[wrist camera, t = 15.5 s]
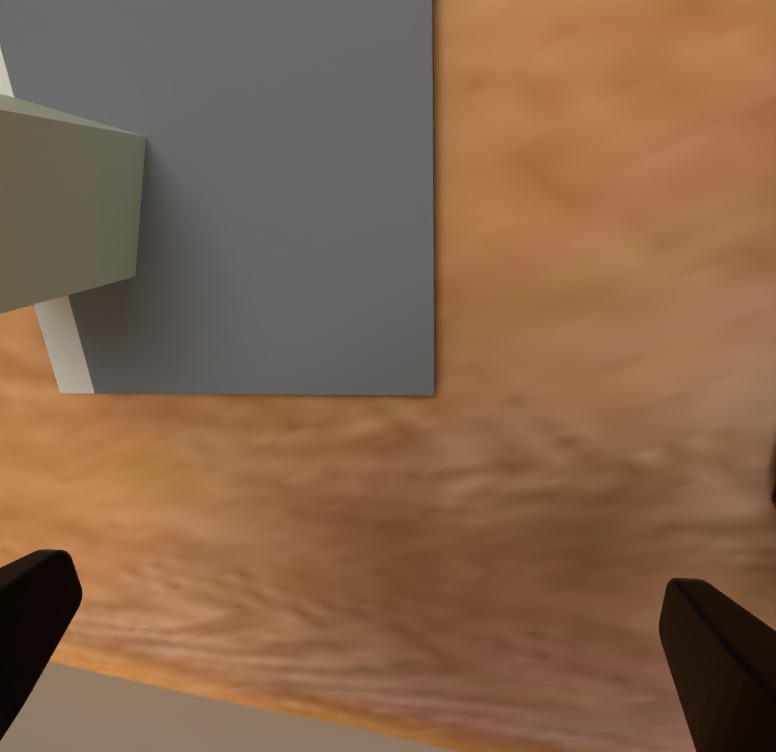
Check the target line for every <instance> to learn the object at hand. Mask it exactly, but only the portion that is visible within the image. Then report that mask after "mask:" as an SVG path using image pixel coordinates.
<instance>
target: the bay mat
mask: <svg viewBox="0 0 776 752" xmlns="http://www.w3.org/2000/svg"><path fill="white" fill-rule="evenodd" d="M0 94H4V95H8V96H12V97H15V98H18V99H22V100H25V101H28V102H32V103H35V104H38V105H42V106H45V107H48V108H52V109H55V110H58V111H62V112H65V113H68V114H72V115H75V116H78V117H82V118H85V119H88V120H92V121H95V122H99V123H102V124H105V125H109V126H112V127H115V128H119V129H122V130H125V131H129V132H132V133H135V134H139V135H142V136H145V137H146V144H145V157H144V170H143V183H142V196H141V209H140V222H139V235H138V248H137V262H136V275H135V277H132V278H129V279H125V280H121V281H118V282H114V283H110V284H107V285H103V286H99V287H96V288H92V289H88V290H85V291H81V292H77V293H74V294H70V295H66V296H63V297H59V298H55V299H52V300H48V301H44V302H41V303H37V304H34V307H35V311H36V314H37V317H38V321H39V324H40V327H41V331H42V334H43V337H44V341H45V344H46V347H47V351H48V354H49V357H50V361H51V364H52V367H53V371H54V374H55V377H56V381H57V384H58V388H59V391H60V393H115V394H270V395H424V396H434V392H435V332H434V141H433V0H0Z"/></svg>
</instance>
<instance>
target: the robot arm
mask: <svg viewBox="0 0 776 752" xmlns="http://www.w3.org/2000/svg"><path fill="white" fill-rule="evenodd" d="M773 502H774V504H775V505H776V489H775V492H774V496H773ZM81 600H82V587H81V584H80V581H79V578H78V575H77V572H76V569H75V566H74V563H73V560H72V558H71V555H70V554H69V553H68V552H67V551H64V550H50V549H43V550H37V551H35V552H33V553H31V554H28V555H26V556H24V557H22V558H20V559H18V560H16V561H14V562H12V563H9V564H7V565H5V566H3V567H1V568H0V741H1V739H2V738H3V736H4V735H5V733H6V732H7V730H8V728H9V727H10V725H11V724H12V722H13V721H14V719H15V718H16V716H17V715H18V713H19V712H20V710H21V708H22V707H23V705H24V703H25V702H26V700H27V698H28V697H29V695H30V693H31V691H32V690H33V688H34V686H35V684H36V683H37V681H38V679H39V677H40V675H41V674H42V672H43V670H44V668H45V667H46V665H47V663H48V661H49V660H50V658H51V656H52V654H53V652H54V651H55V649H56V647H57V645H58V644H59V642H60V640H61V638H62V636H63V635H64V633H65V631H66V629H67V628H68V626H69V624H70V622H71V620H72V619H73V617H74V615H75V613H76V612H77V610H78V608H79V606H80V603H81ZM659 634H660V639H661V643H662V646H663V649H664V652H665V655H666V658H667V662H668V665H669V668H670V671H671V674H672V677H673V680H674V684H675V687H676V690H677V693H678V696H679V699H680V702H681V705H682V709H683V712H684V715H685V718H686V721H687V724H688V727H689V731H690V734H691V737H692V740H693V743H694V746H695V749H696V752H776V631H775V630H773V629H772V628H771V627H769V626H768V625H766V624H765V623H764V622H762V621H761V620H759V619H758V618H757V617H755V616H754V615H752V614H751V613H750V612H748V611H747V610H745V609H744V608H743V607H741V606H740V605H738V604H737V603H736V602H734V601H733V600H732V599H730V598H729V597H727V596H726V595H725V594H723V593H722V592H720V591H719V590H718V589H716V588H715V587H713V586H712V585H711V584H709V583H708V582H706V581H704V580H701V579H689V578H673V579H671V580H670V581H669V582H668V584H667V587H666V591H665V596H664V601H663V606H662V610H661V615H660V620H659Z"/></svg>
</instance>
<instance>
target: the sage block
mask: <svg viewBox="0 0 776 752" xmlns="http://www.w3.org/2000/svg"><path fill="white" fill-rule="evenodd" d="M145 144H146V137H145V136H142V135H139V134H135V133H132V132H129V131H125V130H122V129H119V128H115V127H112V126H109V125H105V124H102V123H99V122H95V121H92V120H88V119H85V118H82V117H78V116H75V115H72V114H68V113H65V112H62V111H58V110H55V109H52V108H48V107H45V106H42V105H38V104H35V103H32V102H28V101H25V100H22V99H18V98H15V97H12V96H8V95H4V94H0V314H1V313H4V312H8V311H12V310H15V309H19V308H23V307H26V306H30V305H34V304H37V303H41V302H44V301H48V300H52V299H55V298H59V297H63V296H66V295H70V294H74V293H77V292H81V291H85V290H88V289H92V288H96V287H99V286H103V285H107V284H110V283H114V282H118V281H121V280H125V279H129V278H132V277H135V275H136V262H137V248H138V235H139V222H140V209H141V196H142V183H143V170H144V157H145Z"/></svg>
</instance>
